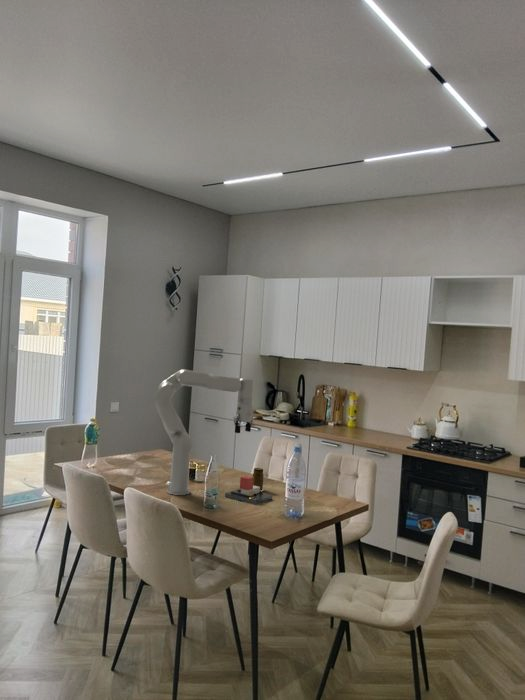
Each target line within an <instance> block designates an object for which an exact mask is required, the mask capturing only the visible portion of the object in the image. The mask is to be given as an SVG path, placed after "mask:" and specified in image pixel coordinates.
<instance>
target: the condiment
mask: <svg viewBox="0 0 525 700" xmlns="http://www.w3.org/2000/svg"><path fill="white" fill-rule="evenodd" d="M252 477H254V480H253V485H254V486H258V487H260V490H262V489H263V486H264V468H262V467H255V468H253V473H252Z"/></svg>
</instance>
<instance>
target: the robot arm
mask: <svg viewBox="0 0 525 700" xmlns="http://www.w3.org/2000/svg"><path fill="white" fill-rule="evenodd" d="M184 386H186V387H190V388H191V387H193V388H200V389H205V390H206V389H207V390H215V391H216V390H218V391H223V392H228V393H229V392H231V393H236V392H238V395H237V396H238V398H237V405H236V411H235V412H236V413H235V416H234V417H233V423H234V433H235V434H241V428H242V427H241V424H242V423H245V425H244V426H245V428H244V431H245V432H249V433H250V432H251V430H252V429H251V428H252V427H251V426H252V424H253V423H252V422H253V419H254V415H253V412H254V411H253V403H252V402H253V389H254V388H253V387H254V380H253V379H252V378H247V377H245V378H244V377H241V378H240V377H235V376H230V377H229V376H228V377H227V376H222V375H217V374H213V373H210V372H206V371H205V372H204V371H203V372H202V371H199V370H198V371H197V370H192V369H191V370H190V369H185V368H183V369H182V368H181V369H180V370H178V371H176V372H175V373H173V374H172V375H170V376H169V377H168V378H166V379H164V380H163V381H161V382H160V384H159V385H158V390H157V391H156V393H155V397H154V406H155V409H156V411H157V413H158V416H159V417H160V419H161V422H162V424H163V427H164V430H165V431H166V433H167V436H168V437H169V439H170V441H171V443H172V454H171V455H172V456H171V467H170V468H171V469H170V480H169V481H167V482H166V483H165V484H164V485H165V486H166V487H168V488H167V489H166V492H167V494H169V495H172V494H173V495H174V496H187V495H189V493H190V492H192V491H191V489H189V479H190V478H189V477H190V462H191V461H190V460H191V454H192V447H193V446H192V445H193V443H192V442H193V441H192V438H191V436H190V434H188V431H187V430H186V428H185V425H184V424H183V422H182V419H181V418H180V416H179V415H178V413H177V411H176V410H175V406H174V405H173V402H172V398H173V396H174V395H175V393H176V392H177V391H178V390H180V389H181V388H182V387H184ZM186 494H187V495H186ZM190 494H191V493H190Z"/></svg>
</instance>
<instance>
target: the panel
mask: <svg viewBox="0 0 525 700" xmlns="http://www.w3.org/2000/svg"><path fill="white" fill-rule="evenodd" d="M224 497H225V498H229V499H232V500H236V501H240V500H241V502H244V503H248V504H251V505H255V506H257V505H260V504H262V502H263V503H266V502H268V500H269V501H271V500H270V499H272V500H273V495H271V494H268V493H265V492H261V491H260V493H257V494H255V493H254V495H252V496H248V495H244V494H241V489H240V488H238V489H235V490H232V491H228V492H225V494H224ZM265 501H266V502H265Z"/></svg>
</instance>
